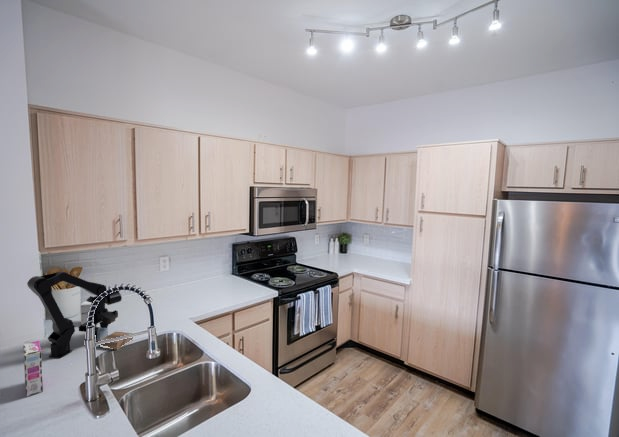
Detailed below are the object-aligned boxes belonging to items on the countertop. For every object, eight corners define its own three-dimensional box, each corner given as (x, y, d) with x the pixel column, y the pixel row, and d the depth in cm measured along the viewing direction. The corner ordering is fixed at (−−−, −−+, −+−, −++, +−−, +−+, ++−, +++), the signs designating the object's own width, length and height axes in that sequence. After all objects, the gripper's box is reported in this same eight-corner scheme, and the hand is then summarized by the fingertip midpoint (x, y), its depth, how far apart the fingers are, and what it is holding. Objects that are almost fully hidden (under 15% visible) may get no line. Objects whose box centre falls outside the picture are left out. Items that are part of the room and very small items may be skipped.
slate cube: (100, 341, 154) (99, 332, 153) (91, 340, 155) (91, 331, 154) (108, 337, 159) (107, 327, 158) (99, 336, 160) (99, 327, 159)
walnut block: (117, 350, 146) (116, 342, 146) (99, 348, 148) (99, 340, 148) (132, 340, 156) (132, 333, 156) (115, 338, 158) (115, 331, 158)
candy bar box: (44, 391, 116) (41, 350, 114) (26, 397, 112) (23, 355, 111) (41, 378, 124) (39, 339, 122) (25, 383, 120) (22, 344, 119)
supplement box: (80, 326, 171) (79, 304, 169) (86, 321, 178) (85, 300, 177) (95, 325, 172) (94, 303, 171) (100, 319, 180) (100, 299, 179)
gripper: (97, 316, 145) (99, 347, 146) (126, 302, 163) (127, 330, 165) (76, 314, 146) (78, 345, 148) (107, 301, 165) (108, 328, 166)
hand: (99, 337), depth 157 cm, fingers closed on slate cube, 5 cm apart
